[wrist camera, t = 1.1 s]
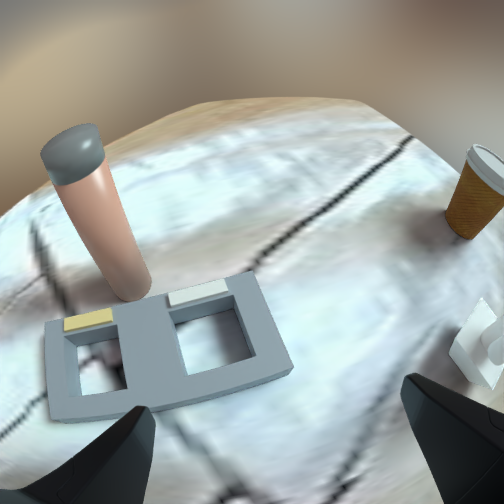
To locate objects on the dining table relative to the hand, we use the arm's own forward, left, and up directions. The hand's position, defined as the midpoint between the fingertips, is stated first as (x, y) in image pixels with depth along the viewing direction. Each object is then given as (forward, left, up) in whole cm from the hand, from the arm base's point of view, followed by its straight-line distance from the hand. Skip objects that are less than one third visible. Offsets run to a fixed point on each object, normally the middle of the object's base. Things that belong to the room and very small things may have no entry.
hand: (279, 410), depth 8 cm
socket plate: (-3, +9, -13) cm, 16 cm away
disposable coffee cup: (+39, -1, -13) cm, 41 cm away
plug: (-2, +17, -13) cm, 22 cm away
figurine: (+20, -11, -13) cm, 26 cm away
